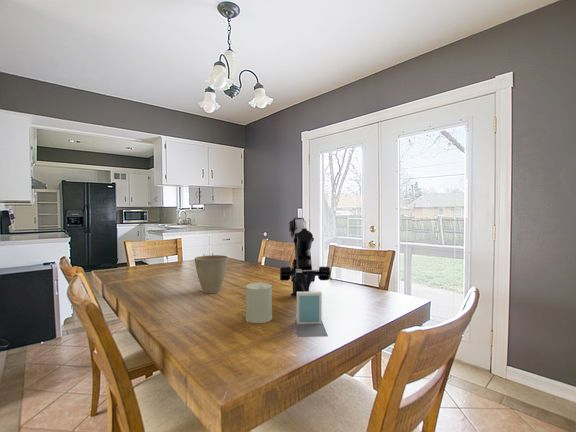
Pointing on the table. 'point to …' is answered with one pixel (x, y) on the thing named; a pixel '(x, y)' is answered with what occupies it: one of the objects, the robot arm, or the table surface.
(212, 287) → the plant pot
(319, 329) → the mat
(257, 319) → the can
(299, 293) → the tile
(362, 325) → the table surface
